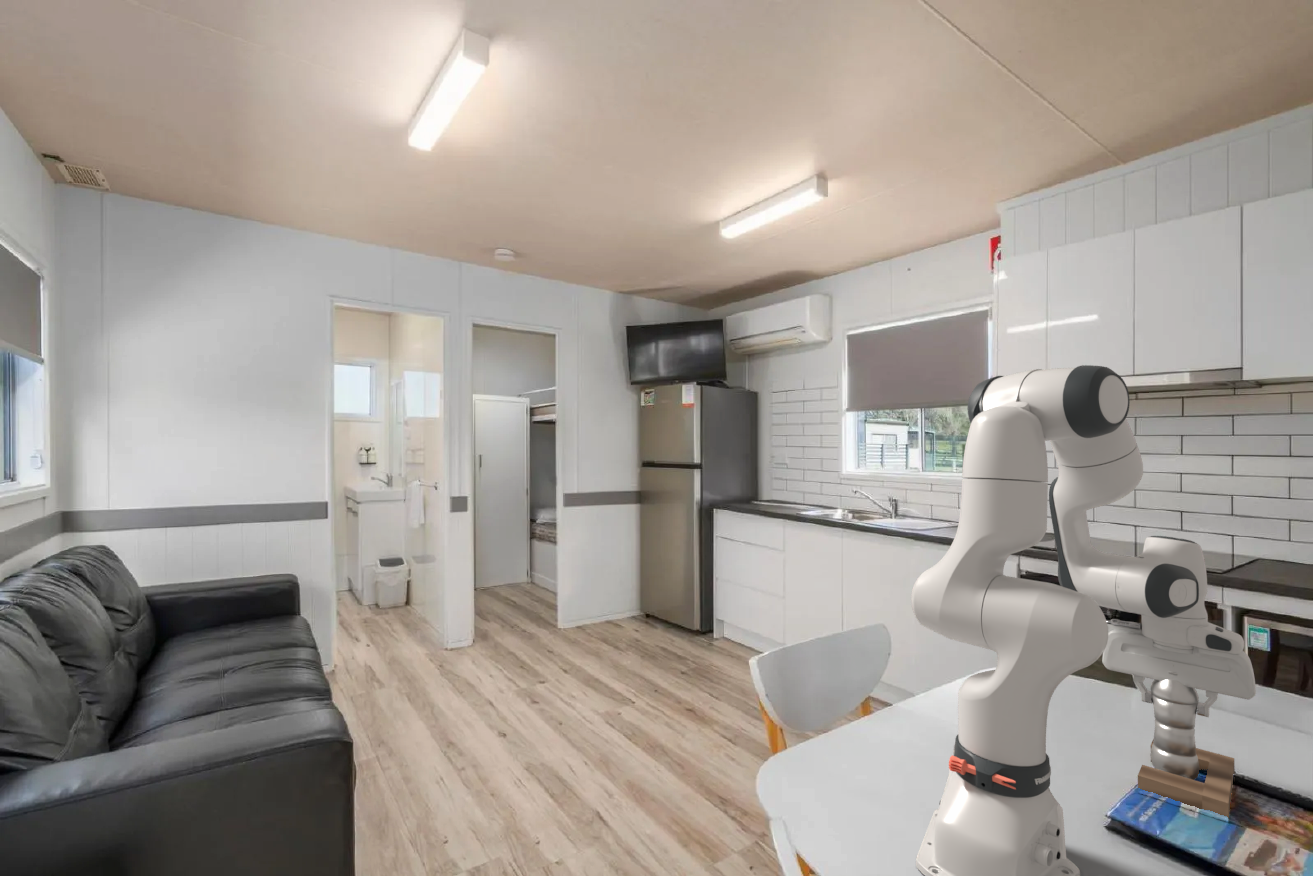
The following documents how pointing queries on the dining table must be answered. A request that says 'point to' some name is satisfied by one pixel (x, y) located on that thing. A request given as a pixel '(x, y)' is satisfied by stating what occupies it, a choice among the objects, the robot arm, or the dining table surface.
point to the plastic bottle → (1174, 728)
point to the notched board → (1195, 783)
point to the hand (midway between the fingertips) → (1174, 708)
